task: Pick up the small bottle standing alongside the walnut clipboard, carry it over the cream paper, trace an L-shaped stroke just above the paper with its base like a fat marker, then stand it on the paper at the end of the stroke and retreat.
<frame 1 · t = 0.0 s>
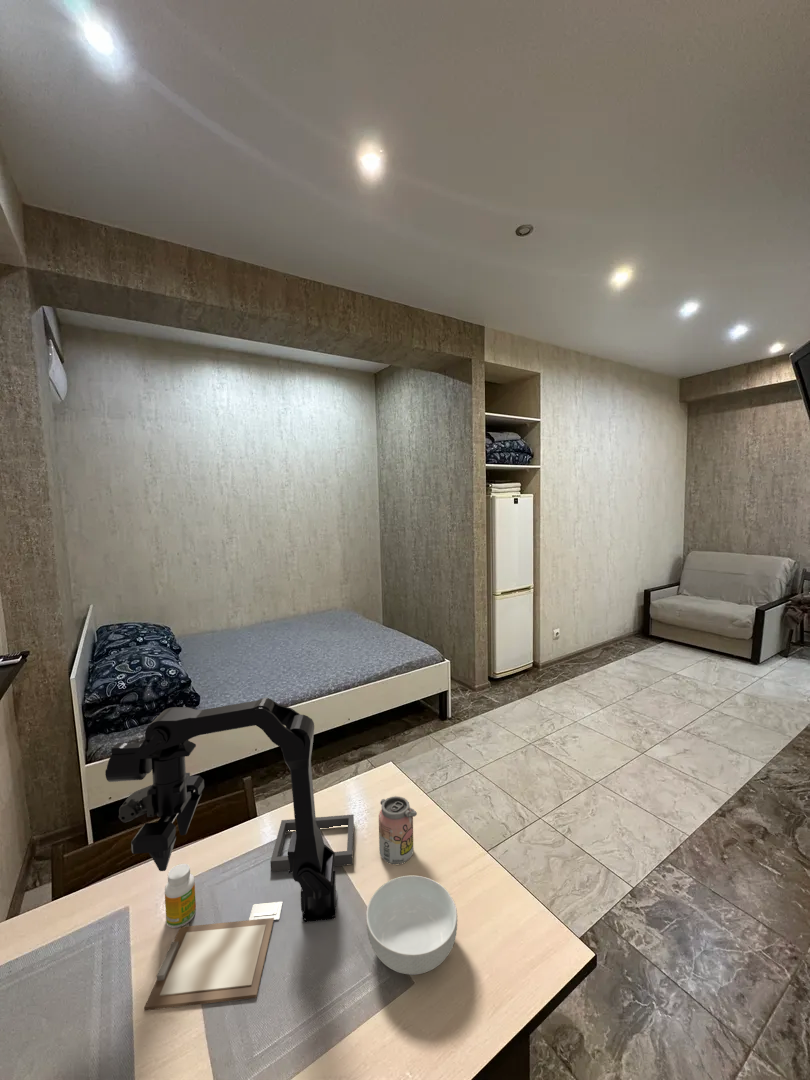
hand: (173, 851, 87), 15 cm above the table, fingers open, 9 cm apart
empty rectangular frame: (315, 846, 107), on the table
word card: (265, 912, 89), on the table
supplement bottle: (181, 917, 89), on the table
clipboard: (215, 961, 80), on the table
cereal bowl: (412, 947, 82), on the table
beverage can: (397, 852, 105), on the table
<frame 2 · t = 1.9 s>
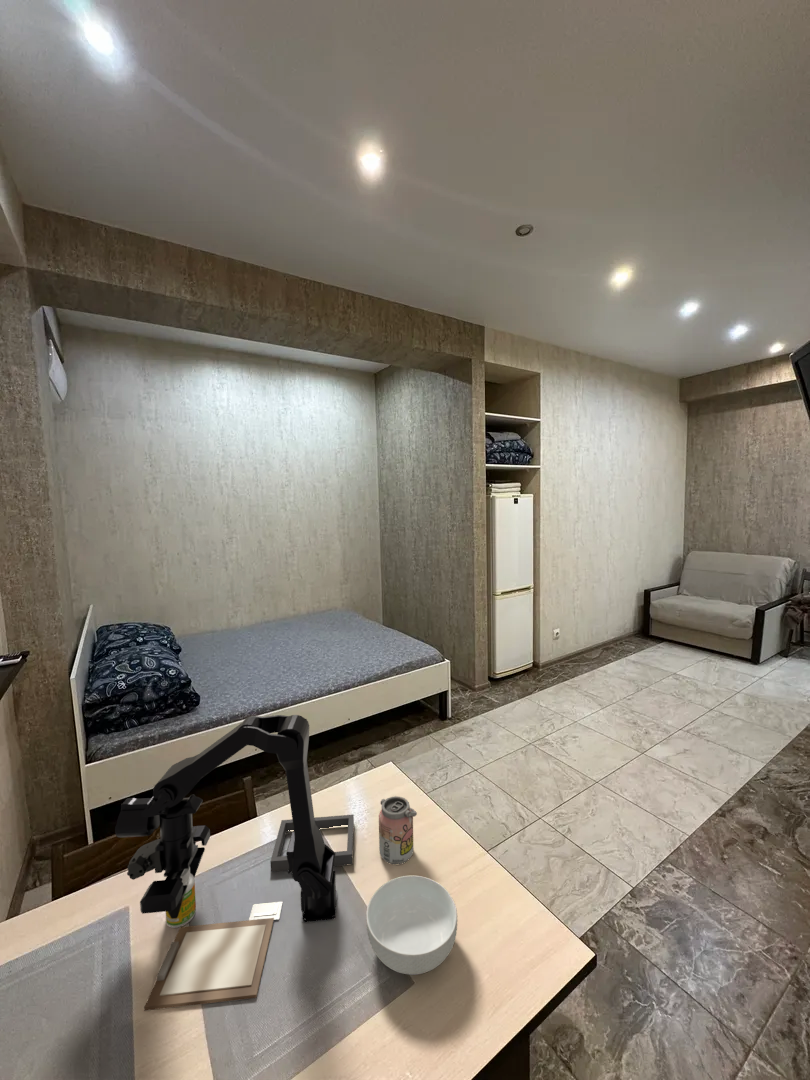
hand: (180, 904, 89), 3 cm above the table, fingers closed on supplement bottle, 5 cm apart
supplement bottle: (181, 917, 89), on the table, touching gripper
everything else where it was.
when the fingers open (4 cm above the table, at t = 8.7 s): supplement bottle stays where it is, resting on clipboard.
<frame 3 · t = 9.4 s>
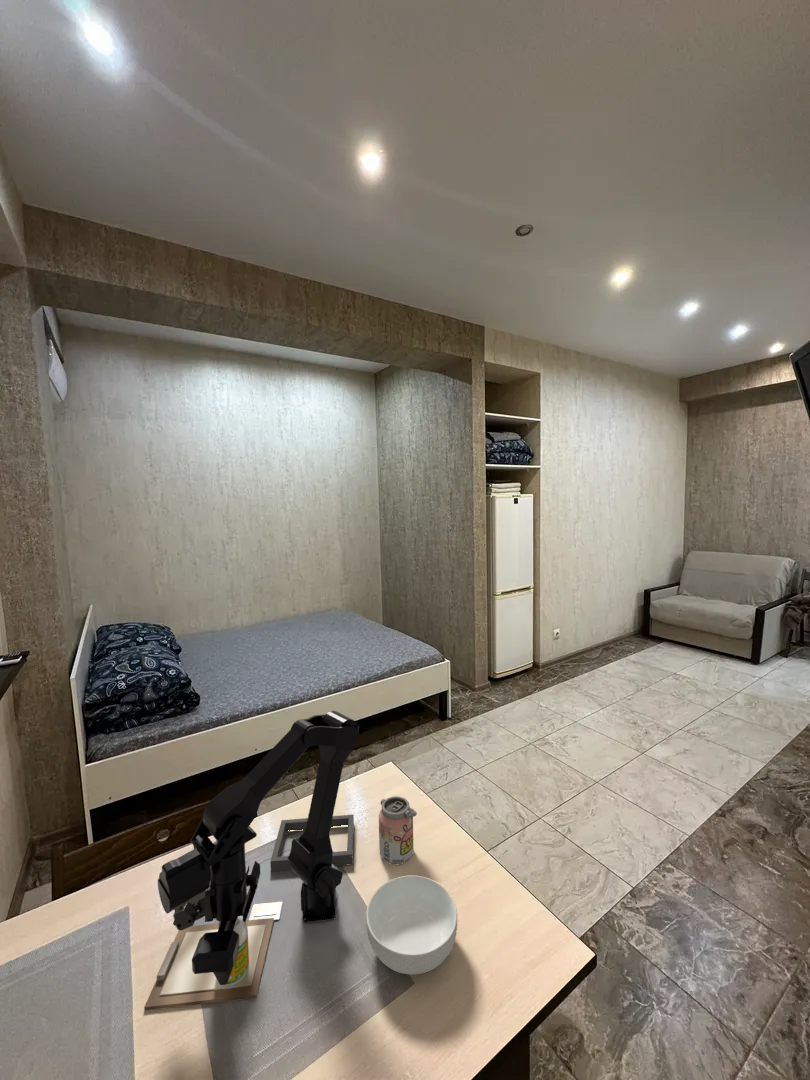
hand: (232, 955, 77), 4 cm above the table, fingers open, 9 cm apart
supplement bottle: (232, 972, 77), point 1 cm above the table, touching clipboard
everything else where it was.
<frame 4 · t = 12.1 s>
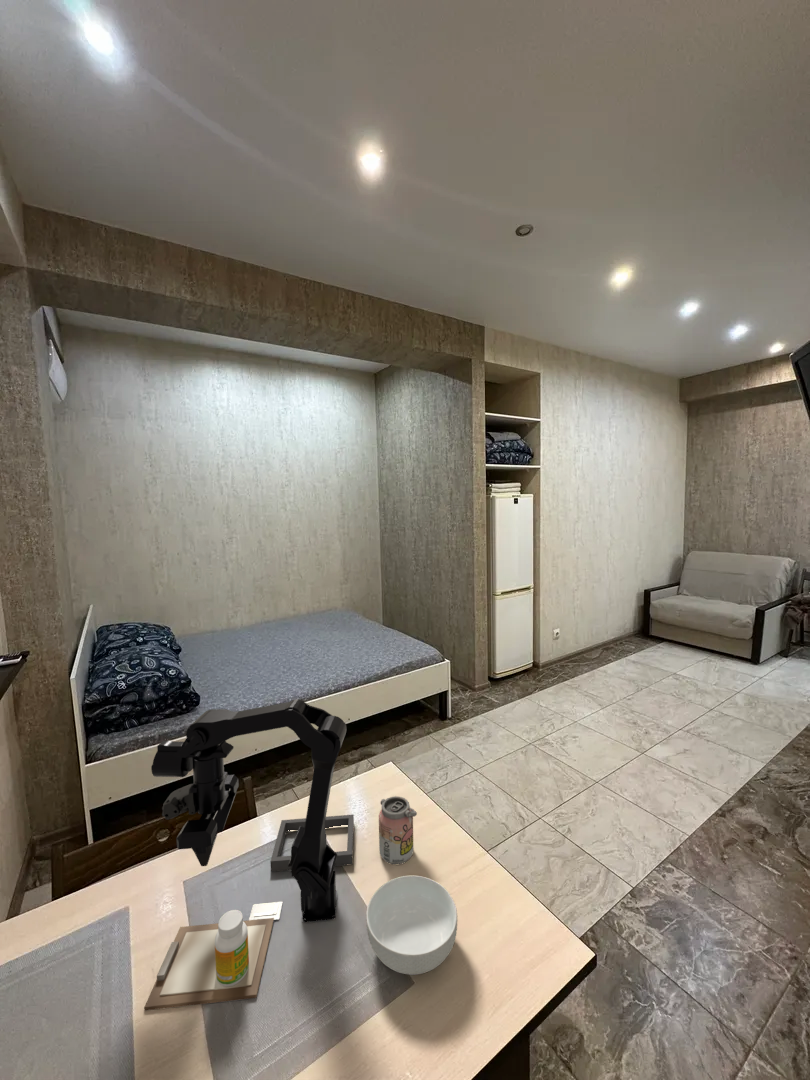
hand: (212, 847, 90), 12 cm above the table, fingers open, 9 cm apart
nothing on the table moved.
at the end: supplement bottle inside the target area (0.0 cm from its centre), point 0.6 cm above the table; supplement bottle tilted 0°; the gripper is holding nothing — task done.
